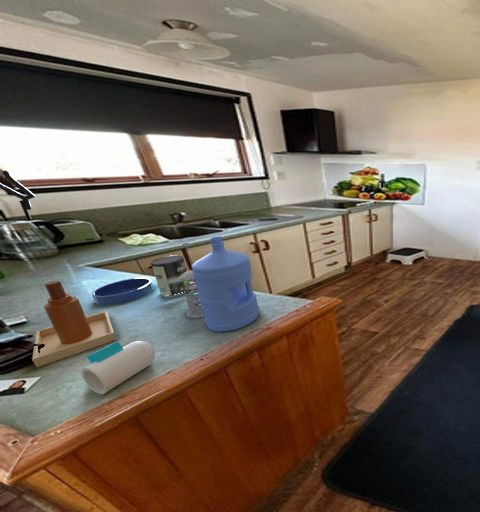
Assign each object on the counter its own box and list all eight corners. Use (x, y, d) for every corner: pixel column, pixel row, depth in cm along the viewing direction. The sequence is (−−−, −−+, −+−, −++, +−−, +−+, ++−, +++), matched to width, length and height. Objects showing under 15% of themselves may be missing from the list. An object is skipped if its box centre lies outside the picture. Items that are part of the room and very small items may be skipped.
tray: (36, 367, 70) (32, 359, 69) (39, 338, 82) (36, 331, 81) (116, 339, 80) (113, 332, 79) (109, 317, 92) (106, 310, 92)
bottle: (61, 347, 76) (33, 289, 71) (61, 338, 80) (34, 283, 75) (93, 336, 81) (69, 281, 75) (91, 328, 85) (69, 276, 79)
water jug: (197, 335, 82) (172, 246, 72) (219, 309, 96) (200, 233, 87) (252, 330, 84) (234, 243, 75) (265, 305, 98) (251, 230, 89)
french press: (179, 314, 93) (159, 245, 85) (211, 299, 103) (195, 236, 95) (199, 320, 90) (179, 248, 82) (229, 304, 100) (215, 238, 92)
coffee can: (195, 285, 116) (187, 254, 112) (186, 295, 107) (177, 262, 102) (167, 288, 113) (157, 256, 109) (155, 299, 104) (144, 265, 100)
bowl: (97, 311, 96) (93, 301, 95) (94, 296, 107) (90, 287, 106) (158, 294, 108) (155, 285, 107) (149, 282, 119) (146, 274, 118)
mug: (146, 327, 68) (85, 358, 58) (166, 356, 70) (110, 392, 59) (123, 335, 73) (62, 366, 62) (142, 363, 75) (86, 398, 64)
